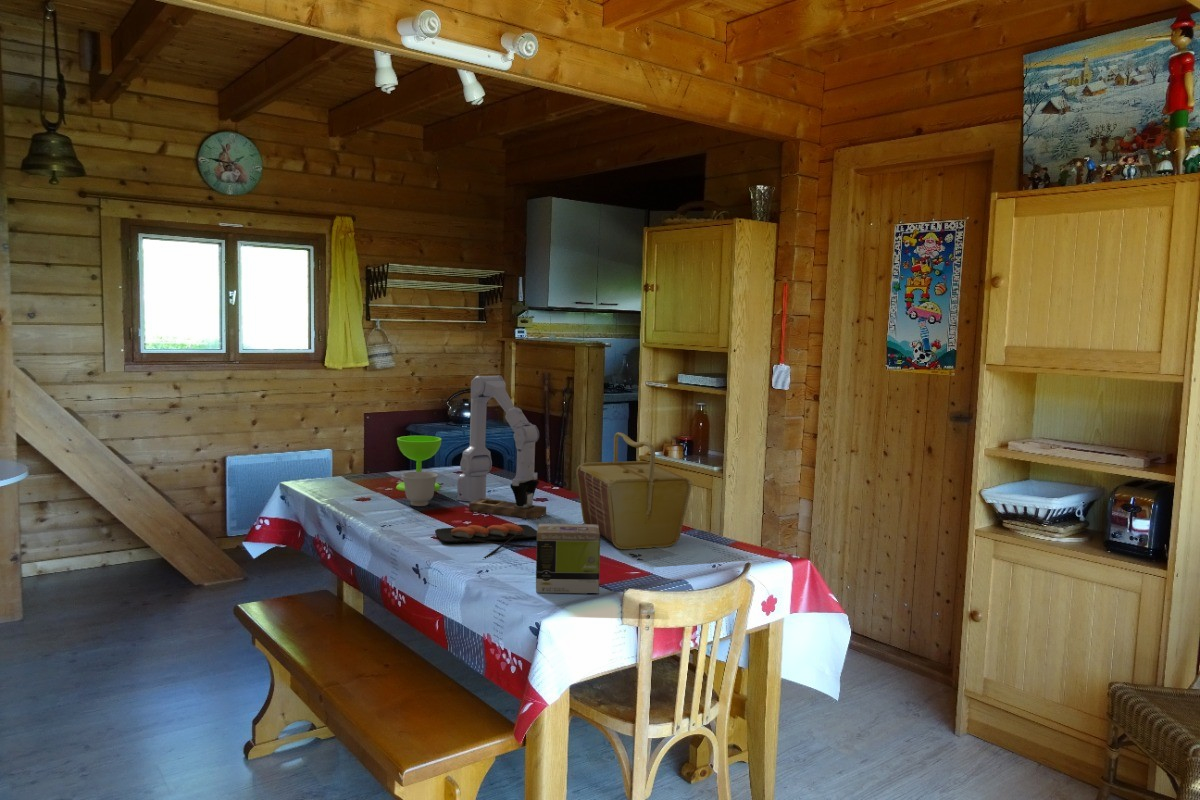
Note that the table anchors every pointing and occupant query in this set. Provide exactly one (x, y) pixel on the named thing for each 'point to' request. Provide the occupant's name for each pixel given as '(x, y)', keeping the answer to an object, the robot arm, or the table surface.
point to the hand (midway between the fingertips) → (524, 504)
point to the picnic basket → (633, 500)
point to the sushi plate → (487, 534)
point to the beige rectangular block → (527, 501)
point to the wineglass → (418, 451)
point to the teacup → (419, 487)
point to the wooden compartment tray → (506, 508)
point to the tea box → (567, 558)
